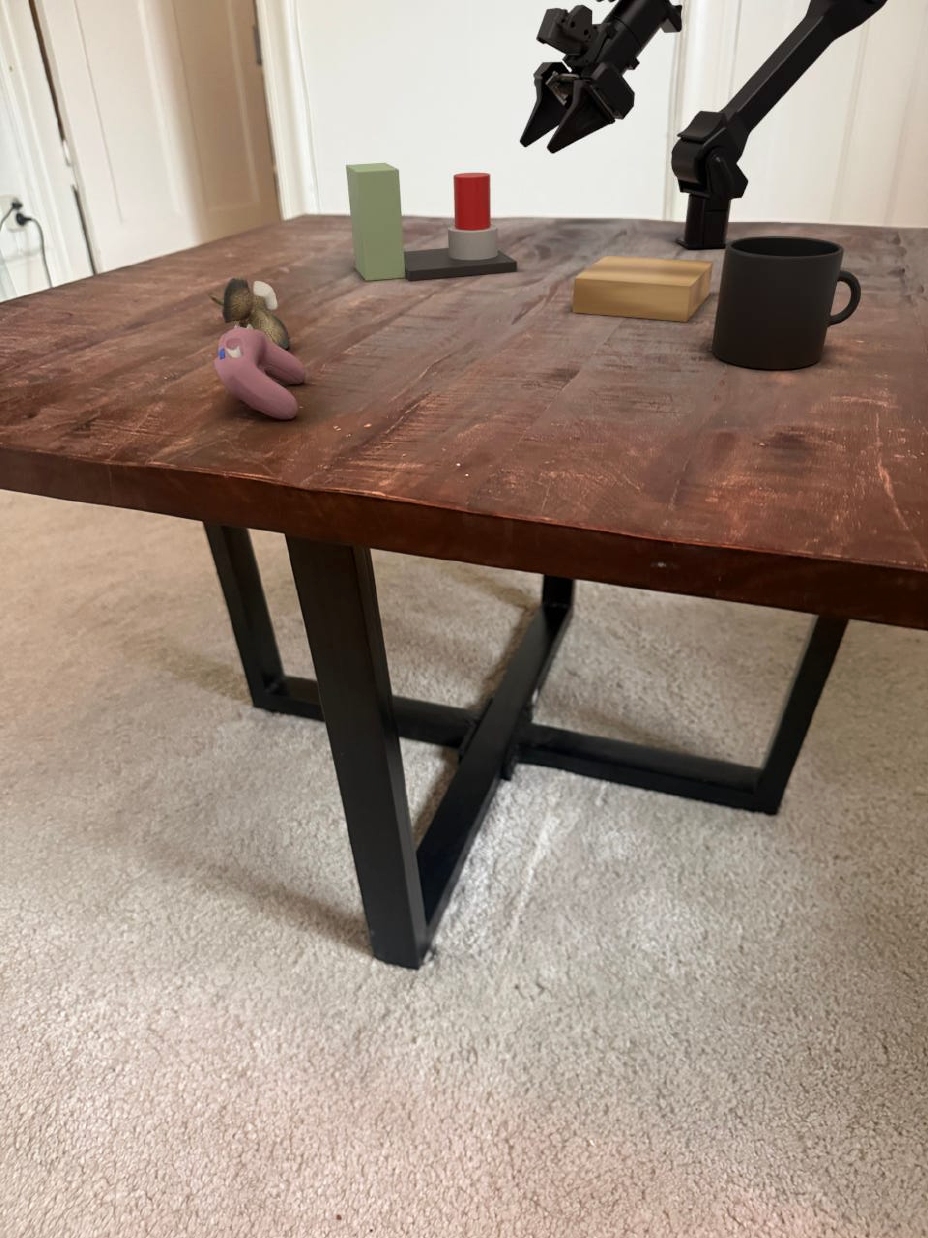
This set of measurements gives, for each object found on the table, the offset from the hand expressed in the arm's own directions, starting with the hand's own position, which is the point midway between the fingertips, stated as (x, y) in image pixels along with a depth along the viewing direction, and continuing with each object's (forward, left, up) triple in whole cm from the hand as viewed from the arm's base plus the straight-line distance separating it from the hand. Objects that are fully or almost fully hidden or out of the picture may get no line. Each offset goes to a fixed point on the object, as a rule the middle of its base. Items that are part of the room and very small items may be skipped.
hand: (535, 147), depth 104 cm
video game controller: (+50, -30, -13) cm, 60 cm away
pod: (+1, -8, -9) cm, 12 cm away
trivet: (+25, +8, -13) cm, 29 cm away
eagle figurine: (+33, -33, -13) cm, 48 cm away
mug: (+45, +15, -13) cm, 49 cm away
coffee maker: (+2, -13, -13) cm, 19 cm away
